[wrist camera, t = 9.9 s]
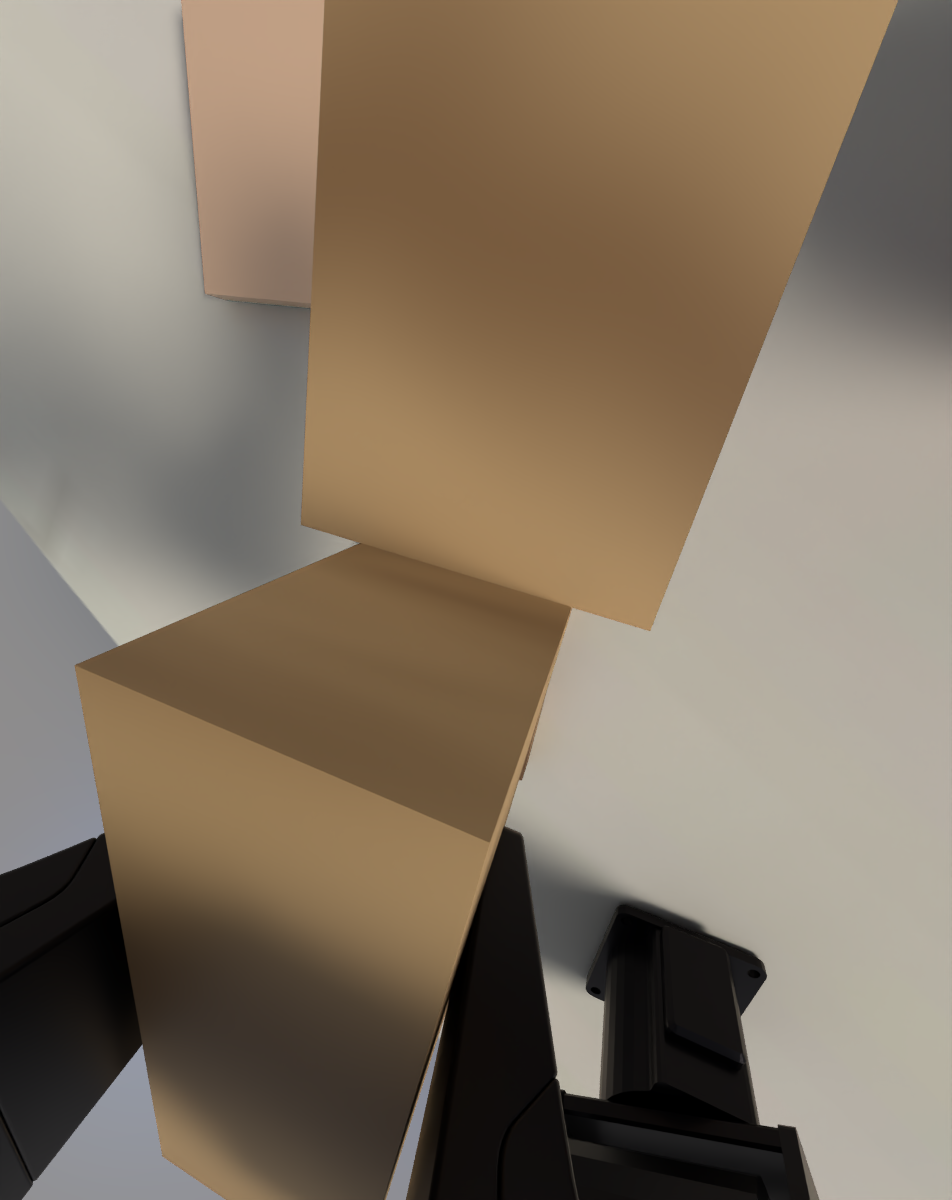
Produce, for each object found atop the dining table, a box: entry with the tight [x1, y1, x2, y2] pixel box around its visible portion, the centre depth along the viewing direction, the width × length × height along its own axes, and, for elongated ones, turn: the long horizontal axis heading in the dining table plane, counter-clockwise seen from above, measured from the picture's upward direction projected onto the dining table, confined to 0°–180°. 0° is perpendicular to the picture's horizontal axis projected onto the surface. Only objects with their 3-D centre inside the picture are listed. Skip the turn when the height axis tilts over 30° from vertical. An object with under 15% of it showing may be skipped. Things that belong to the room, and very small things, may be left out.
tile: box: [181, 0, 325, 308], centre depth 16 cm, size 2×8×8 cm
